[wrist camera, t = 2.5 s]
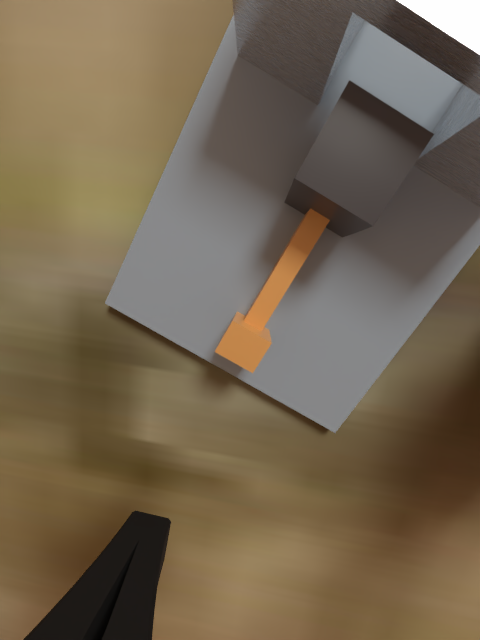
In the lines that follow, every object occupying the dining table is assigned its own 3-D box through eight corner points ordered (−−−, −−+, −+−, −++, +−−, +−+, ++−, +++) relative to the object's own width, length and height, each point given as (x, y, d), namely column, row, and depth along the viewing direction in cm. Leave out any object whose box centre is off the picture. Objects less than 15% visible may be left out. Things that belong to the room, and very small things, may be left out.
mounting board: (331, 425, 18) (335, 433, 17) (111, 301, 17) (105, 303, 16) (891, -311, 10) (945, -361, 9) (523, -609, 9) (547, -690, 8)
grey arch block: (485, 210, 14) (652, 168, 8) (237, 55, 13) (222, -115, 7) (567, 100, 13) (837, -45, 7) (299, -78, 12) (339, -411, 6)
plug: (263, 360, 17) (266, 389, 13) (211, 330, 16) (197, 350, 12) (384, 171, 14) (433, 134, 10) (322, 134, 14) (349, 80, 10)
